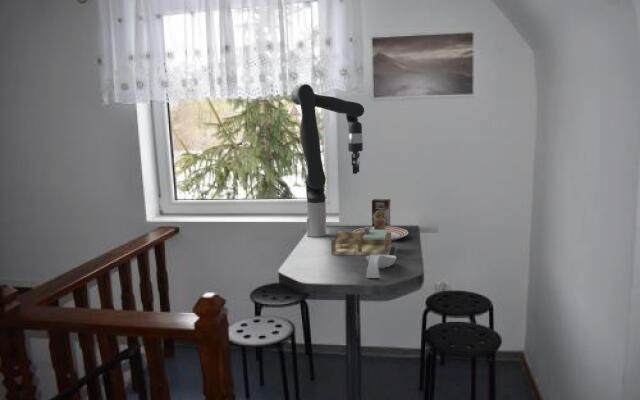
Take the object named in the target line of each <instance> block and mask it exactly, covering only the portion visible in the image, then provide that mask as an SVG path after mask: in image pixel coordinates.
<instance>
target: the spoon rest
mask: <svg viewBox="0 0 640 400" xmlns="http://www.w3.org/2000/svg"><path fill="white" fill-rule="evenodd" d="M365 259H366V261H367V262H368V265H367V268H366V273H365V274H366V275H365V276H366V277H367V278H366V277H365V278H366V279H369V278H379V279H380V278H381V277H380V269H386V268H385V267H388V268H389V267H391V266H392V265H393V264H395V262H396V261H397V256H395V255H393V254H392V255H391V254H389V255H365Z"/></svg>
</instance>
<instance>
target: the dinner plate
mask: <svg viewBox="0 0 640 400" xmlns="http://www.w3.org/2000/svg"><path fill="white" fill-rule="evenodd" d="M364 228H365V227H360V228H357V229H354V230H353V231H352V232H364ZM369 230H374V227H372V226H369ZM386 230H388V232H391V242H392V241H397V240H399V239H401V238H404V237H406V236H408V234H409V231H408V230H407V229H404V228H401V227H398V226H397V227H396V226H395V227H394V226H390V227H386Z"/></svg>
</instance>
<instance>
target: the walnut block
mask: <svg viewBox="0 0 640 400" xmlns="http://www.w3.org/2000/svg"><path fill="white" fill-rule="evenodd" d="M374 230H386V224H385V219H375V220H374Z"/></svg>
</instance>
